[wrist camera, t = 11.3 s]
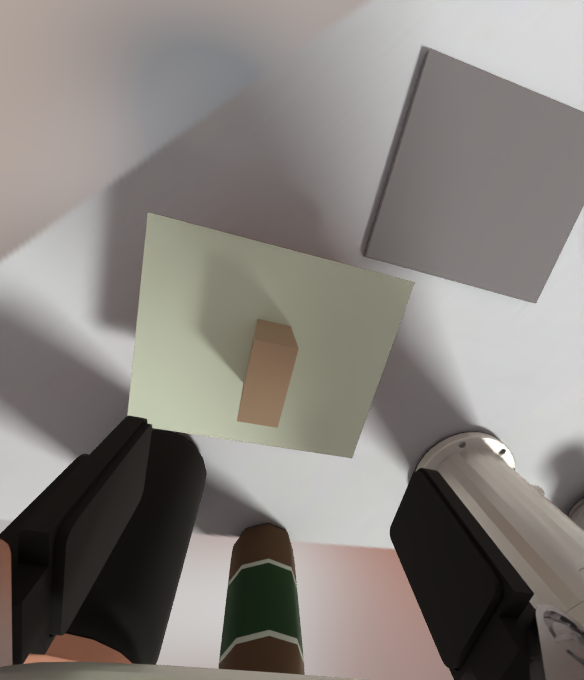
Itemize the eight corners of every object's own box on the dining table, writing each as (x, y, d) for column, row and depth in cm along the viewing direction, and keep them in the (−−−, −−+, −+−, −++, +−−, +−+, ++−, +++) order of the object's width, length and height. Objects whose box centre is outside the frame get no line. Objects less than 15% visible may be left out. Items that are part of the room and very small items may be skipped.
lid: (409, 281, 20) (462, 290, 15) (349, 451, 24) (373, 509, 19) (152, 214, 18) (101, 195, 12) (131, 418, 22) (85, 474, 16)
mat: (613, 130, 25) (621, 127, 25) (530, 302, 29) (536, 303, 29) (425, 53, 22) (430, 48, 22) (363, 256, 27) (366, 256, 26)
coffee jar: (99, 492, 31) (-100, 775, 14) (120, 412, 29) (-94, 641, 12) (194, 511, 33) (117, 782, 16) (220, 438, 31) (164, 668, 14)
